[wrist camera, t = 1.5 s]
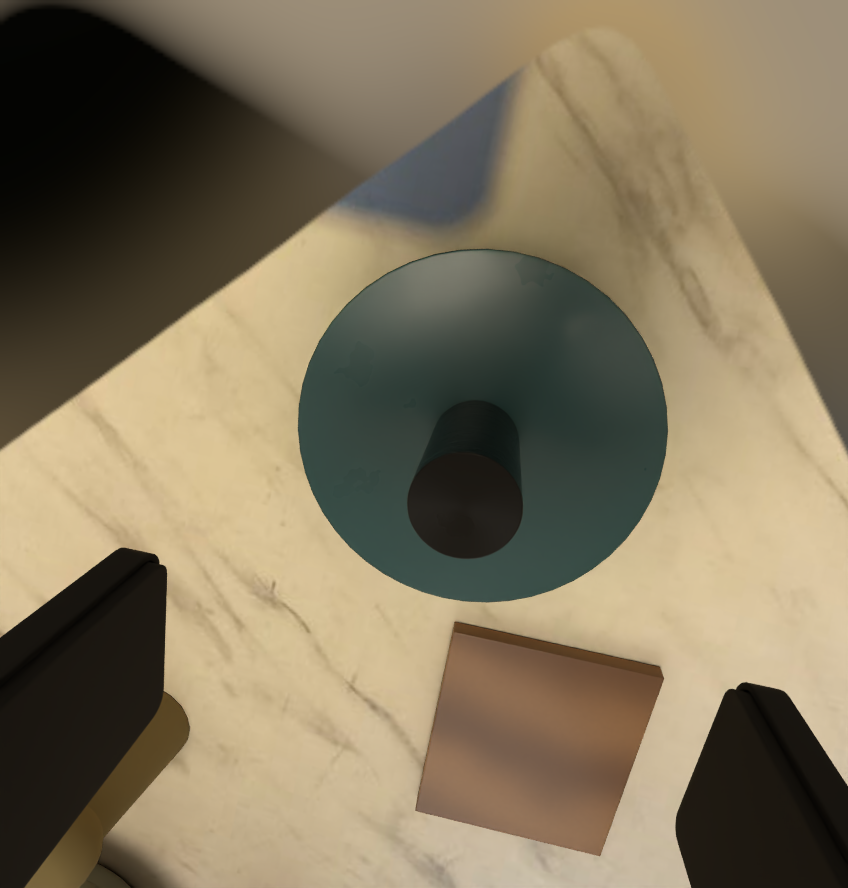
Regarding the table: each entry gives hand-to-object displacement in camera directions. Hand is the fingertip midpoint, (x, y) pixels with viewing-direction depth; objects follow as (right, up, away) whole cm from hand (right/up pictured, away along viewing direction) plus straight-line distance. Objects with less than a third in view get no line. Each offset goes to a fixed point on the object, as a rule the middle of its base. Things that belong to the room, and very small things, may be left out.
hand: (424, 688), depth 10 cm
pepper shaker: (-19, -15, +31) cm, 39 cm away
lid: (+2, +4, +13) cm, 14 cm away
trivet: (+7, -14, +27) cm, 31 cm away
